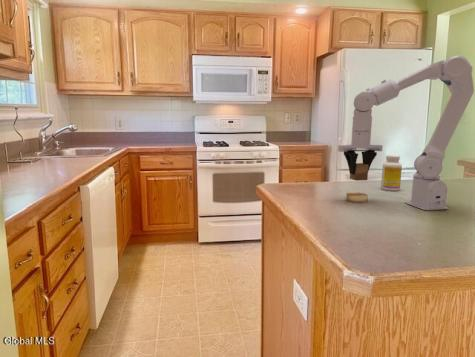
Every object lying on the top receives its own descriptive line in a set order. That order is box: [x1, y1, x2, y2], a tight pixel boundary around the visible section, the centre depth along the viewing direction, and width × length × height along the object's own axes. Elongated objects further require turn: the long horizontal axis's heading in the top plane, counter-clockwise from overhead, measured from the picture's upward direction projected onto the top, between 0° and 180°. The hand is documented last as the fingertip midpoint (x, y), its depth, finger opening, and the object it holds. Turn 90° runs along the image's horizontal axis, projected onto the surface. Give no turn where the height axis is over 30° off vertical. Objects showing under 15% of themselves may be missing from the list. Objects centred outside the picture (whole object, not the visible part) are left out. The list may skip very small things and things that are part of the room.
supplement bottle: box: [380, 154, 403, 192], centre depth 133 cm, size 7×7×13 cm
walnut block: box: [349, 162, 369, 182], centre depth 114 cm, size 4×4×5 cm
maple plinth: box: [345, 191, 369, 204], centre depth 116 cm, size 7×7×2 cm
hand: (358, 173), depth 114 cm, fingers closed on walnut block, 4 cm apart
